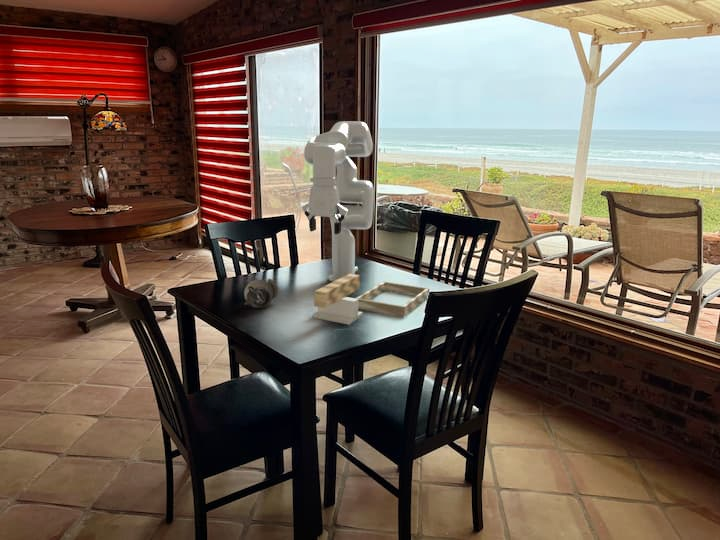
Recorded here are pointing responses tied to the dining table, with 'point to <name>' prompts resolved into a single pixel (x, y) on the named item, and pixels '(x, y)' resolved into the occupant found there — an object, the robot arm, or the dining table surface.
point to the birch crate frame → (392, 309)
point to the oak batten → (336, 290)
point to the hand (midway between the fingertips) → (325, 232)
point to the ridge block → (340, 311)
